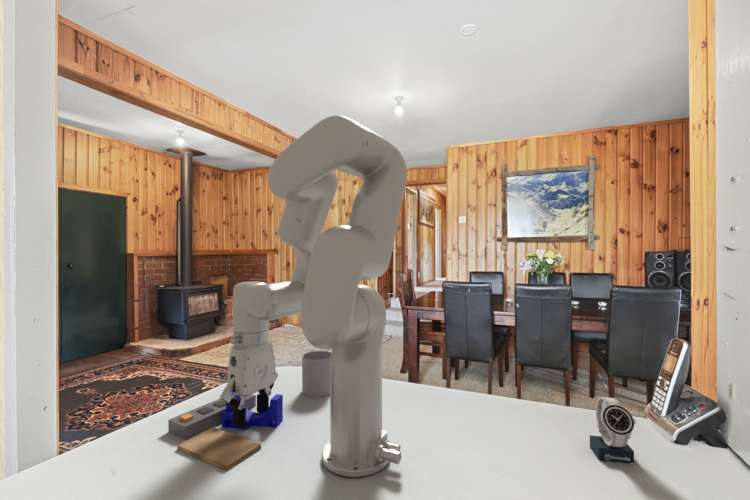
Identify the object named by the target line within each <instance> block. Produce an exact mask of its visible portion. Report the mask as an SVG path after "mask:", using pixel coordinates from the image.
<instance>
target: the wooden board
mask: <svg viewBox="0 0 750 500" xmlns="http://www.w3.org/2000/svg"><path fill="white" fill-rule="evenodd" d="M176 445H177V447H176V448H177V449H176V450H178V451H180V452H182V453H183V454H187V455H189V456H192V457H194V458H196V459H198V460H201V461H203V462H205V463H208V464H211V465H212V466H215V467H217V468H220V469H222V470H224V471H228V470H230V469H232V468H233V467H235V466H236V465H237V464H239V463H240V462H242V461H244V460H245V459H246V458H248V457H250V456H251V455H253V454H254V453H256V452H258V451H259V450H261V449H262V443H259V442H256V441H254V440H251V439H249V438H245V437H243V436H240V435H237V434H234V433H231V432H229V431H226V430H223V429H220V428H217V427H216V426H213V427H211V428H209V429H207V430H205V431H202V432H200V433H198V434H196V435H194V436H192V437H190V438H188V439H186V440H184V441H183V442H181V443H180V444H176Z"/></svg>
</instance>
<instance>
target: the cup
mask: <svg viewBox="0 0 750 500" xmlns="http://www.w3.org/2000/svg"><path fill="white" fill-rule="evenodd" d="M331 353H332V351H326V350H314V351H309V352H306V353H304V354H303V355H302V357H301V376H302V377H301V379H302V380H301V386H302V388H301V391H302V394H303V396H306V397H308V398H323V397H326V396H330V362H331Z"/></svg>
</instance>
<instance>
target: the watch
mask: <svg viewBox="0 0 750 500" xmlns="http://www.w3.org/2000/svg"><path fill="white" fill-rule="evenodd" d="M595 417H596V423H597V424H596V426H597V428H598V432H599V433H600V435H601V436H599V435H589V448H590V449H591V451H592V452H593V454H594V455H595V457H596V459H597V460H598V461H601V462H611V463H619V462H620V463H621V462H622V463H621V464H630V463H634V464H635V451H634V449H632V447H631V446H630V445H629V444H628V442H629V440H630V439H631V436H632V434H633V433H632V432H633V431H634V428H635V425H636V424H637V421H636V419H635V418H633V416H632V414H631V412H630V411H629V410H627V409H626V407H625V406H624V404H623V403H621V402H620V401H619V399H617V398H615V397H606V396H604V397H603V396H600V397H598V398H597V401H596V411H595Z"/></svg>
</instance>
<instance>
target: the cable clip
mask: <svg viewBox="0 0 750 500" xmlns="http://www.w3.org/2000/svg"><path fill="white" fill-rule="evenodd" d="M283 395H284V394H278V393H276V394H275V395H274V396H273V397H272V398H270V399H269V408H268V410H267V411H266V412H262V413H258V412H257V411H256V412H255V411H252V410H250V409H247V408H246V407H245V406H244V407H243V408H246V426H245V427H243V428H242V427H239V426H236V425H234V424H233V407H230V405H228V404H227V403H226V411H224V412H223V413H222V422H221V427H222V428H231V429H239V430H240V429H241V430H248V429H250V427H261V428H263V427H264V428H265V427H266V428H278V427H279V426H280V425H281V424H282V422H283V420H284V419H283V418H284V409H283V407H284V406H283V405H284V404H283V403H284V399H283V398H284V397H283ZM232 396H233V393H231V397H232ZM239 399H240V396H238V400H237V401H238V402H239Z"/></svg>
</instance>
